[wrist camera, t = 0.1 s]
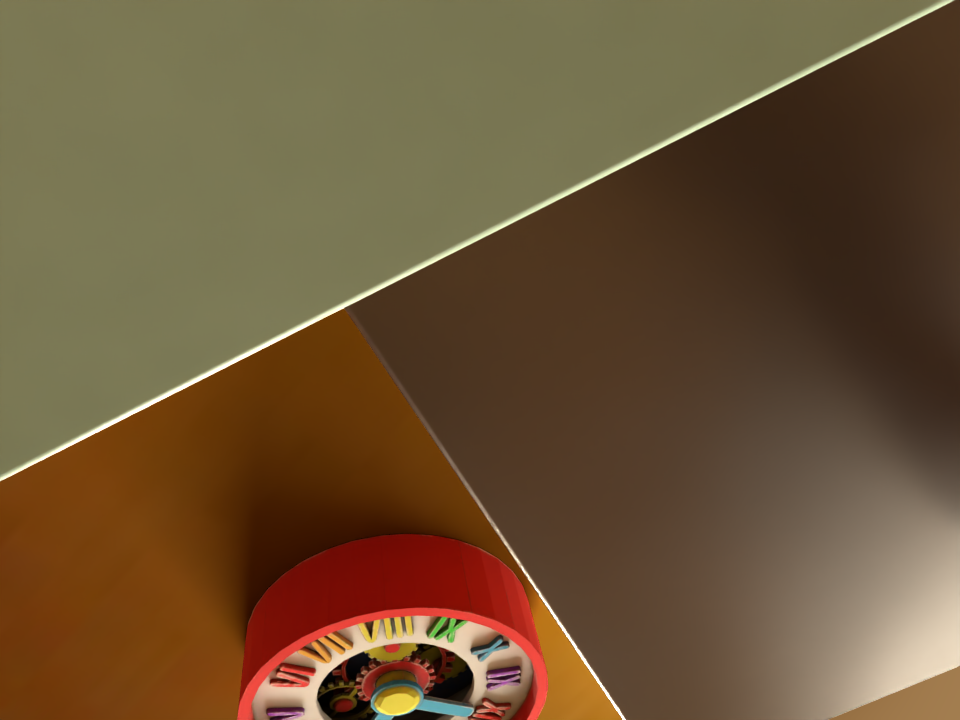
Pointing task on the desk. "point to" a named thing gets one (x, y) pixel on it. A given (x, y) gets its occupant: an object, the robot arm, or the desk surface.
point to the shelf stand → (725, 395)
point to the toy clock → (394, 637)
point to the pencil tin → (318, 160)
